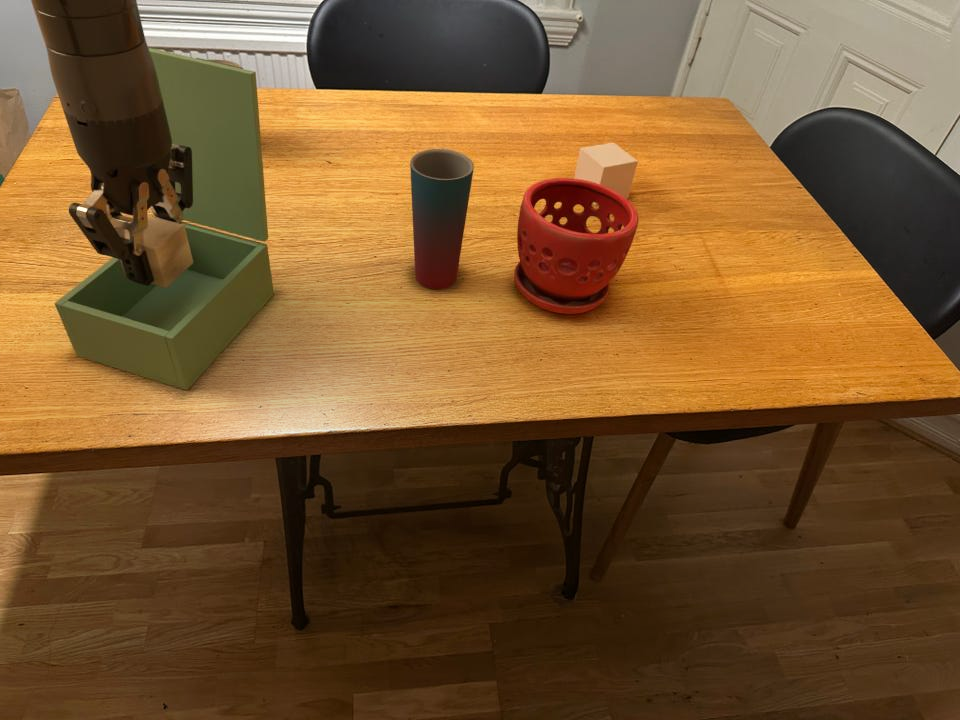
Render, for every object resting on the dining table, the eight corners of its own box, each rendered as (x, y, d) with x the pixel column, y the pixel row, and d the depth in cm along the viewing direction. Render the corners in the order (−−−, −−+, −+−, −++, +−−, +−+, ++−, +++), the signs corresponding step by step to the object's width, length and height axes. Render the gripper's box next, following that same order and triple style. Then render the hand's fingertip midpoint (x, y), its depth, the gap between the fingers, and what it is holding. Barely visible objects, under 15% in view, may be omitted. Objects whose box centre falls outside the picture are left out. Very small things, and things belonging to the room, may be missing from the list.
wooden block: (166, 288, 67) (155, 249, 64) (125, 276, 67) (112, 237, 64) (193, 262, 70) (184, 224, 67) (154, 252, 71) (143, 213, 67)
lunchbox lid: (251, 73, 64) (279, 61, 67) (131, 46, 66) (165, 36, 69) (264, 242, 74) (288, 223, 78) (161, 214, 76) (189, 197, 80)
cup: (415, 297, 81) (419, 182, 71) (401, 264, 86) (403, 151, 76) (470, 290, 83) (482, 177, 73) (454, 257, 88) (463, 146, 78)
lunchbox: (187, 390, 68) (172, 338, 63) (76, 356, 70) (53, 303, 65) (274, 294, 79) (267, 244, 75) (177, 267, 81) (164, 216, 77)
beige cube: (604, 179, 107) (613, 142, 102) (628, 198, 103) (638, 160, 99) (572, 185, 104) (579, 147, 100) (594, 205, 100) (603, 167, 96)
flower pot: (588, 339, 79) (612, 251, 70) (489, 295, 83) (500, 207, 75) (632, 284, 87) (657, 199, 79) (540, 246, 91) (555, 162, 83)
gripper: (129, 59, 62) (170, 222, 74) (4, 121, 52) (74, 299, 64) (203, 76, 61) (233, 239, 73) (90, 143, 51) (146, 320, 63)
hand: (159, 266), depth 68 cm, fingers closed on wooden block, 4 cm apart
